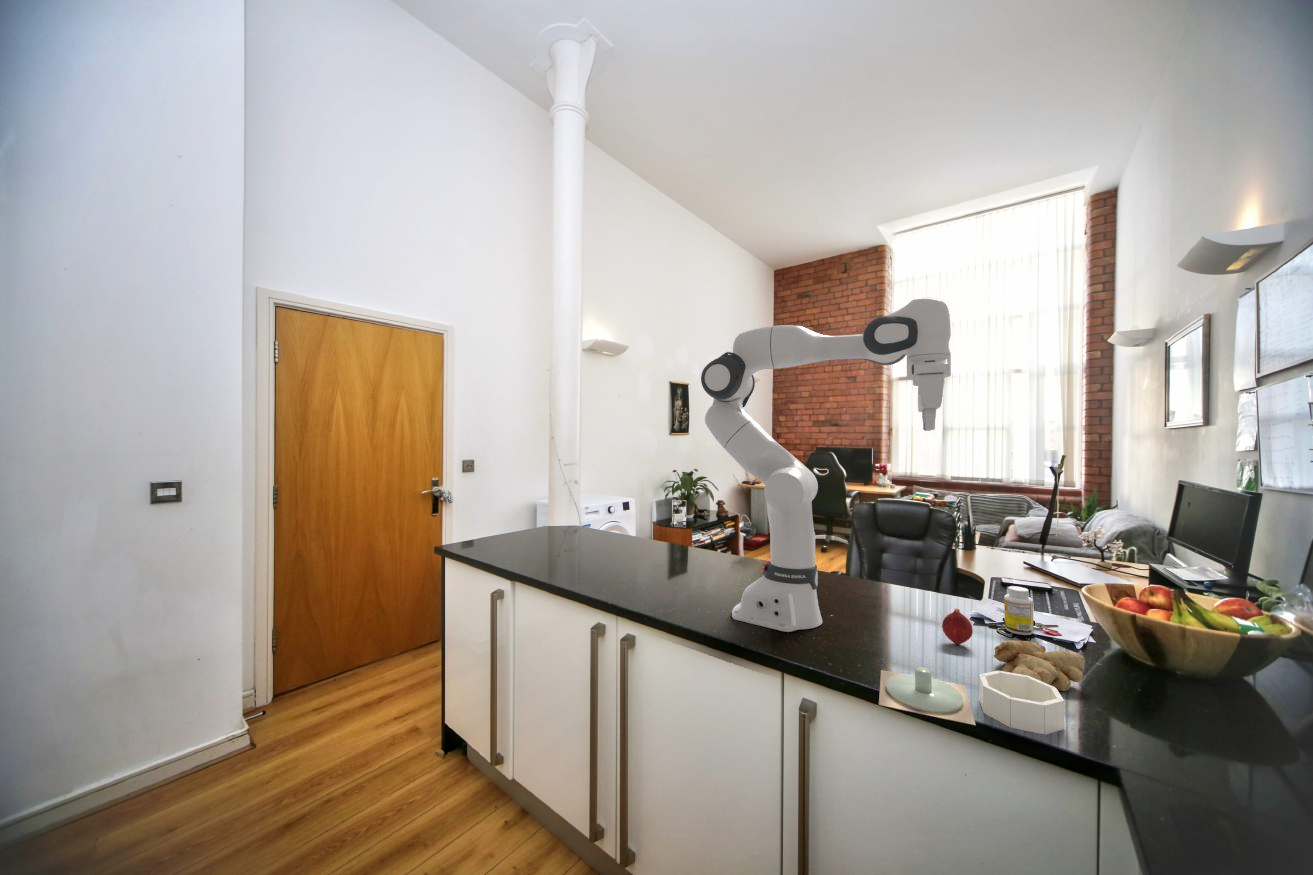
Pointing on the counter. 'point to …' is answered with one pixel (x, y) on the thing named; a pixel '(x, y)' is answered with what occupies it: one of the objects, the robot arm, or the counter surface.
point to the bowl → (1022, 702)
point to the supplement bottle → (1018, 611)
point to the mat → (960, 716)
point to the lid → (924, 692)
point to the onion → (957, 627)
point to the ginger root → (1041, 663)
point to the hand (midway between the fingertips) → (928, 430)
